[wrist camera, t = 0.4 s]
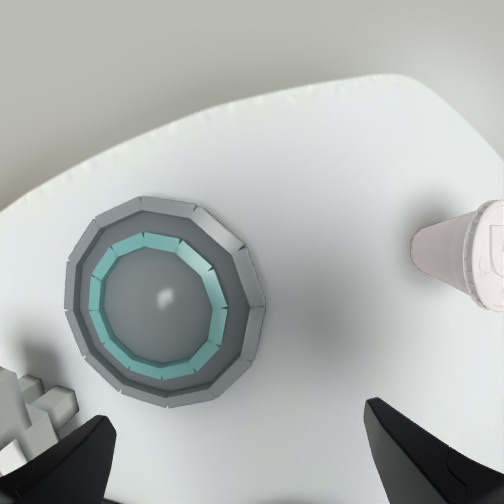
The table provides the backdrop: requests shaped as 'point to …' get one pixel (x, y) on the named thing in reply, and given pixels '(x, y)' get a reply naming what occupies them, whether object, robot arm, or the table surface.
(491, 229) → the smoothie
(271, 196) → the table surface
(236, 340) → the tray
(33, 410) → the toy llama
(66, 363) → the table surface
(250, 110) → the table surface
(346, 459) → the table surface
